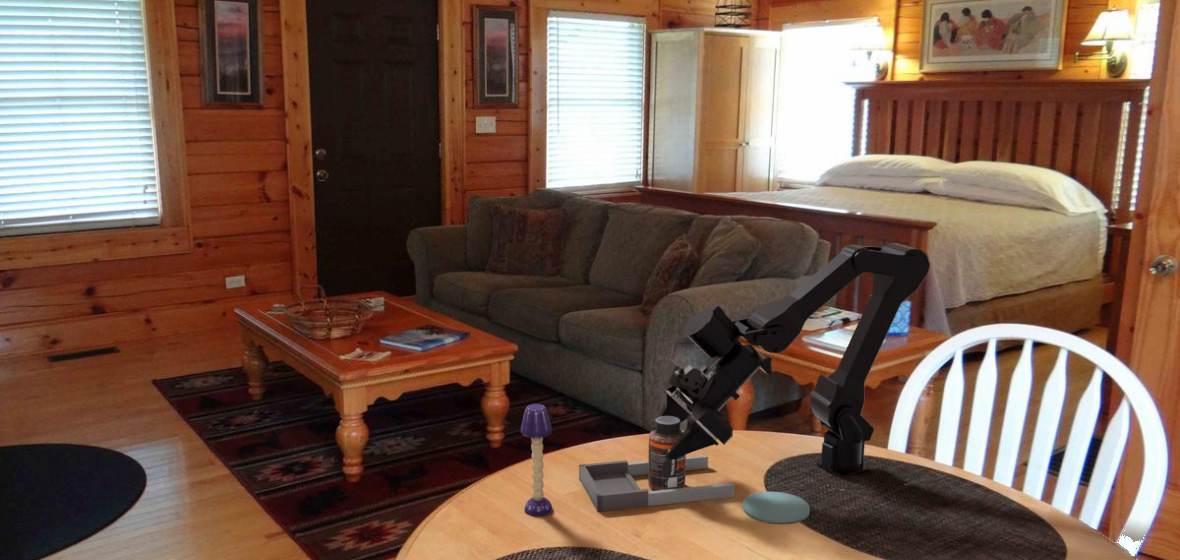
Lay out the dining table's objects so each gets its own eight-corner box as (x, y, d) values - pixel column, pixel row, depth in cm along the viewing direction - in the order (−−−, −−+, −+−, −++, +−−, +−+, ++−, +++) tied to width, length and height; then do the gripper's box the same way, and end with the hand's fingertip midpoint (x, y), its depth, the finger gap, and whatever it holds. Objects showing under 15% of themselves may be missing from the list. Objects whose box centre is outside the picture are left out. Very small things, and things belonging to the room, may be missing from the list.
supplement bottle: (683, 495, 149) (684, 427, 147) (645, 492, 151) (646, 425, 148) (687, 480, 155) (688, 414, 153) (650, 477, 156) (651, 412, 154)
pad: (780, 490, 151) (780, 486, 151) (823, 514, 143) (823, 511, 143) (729, 503, 147) (729, 499, 147) (771, 529, 138) (771, 525, 138)
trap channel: (706, 466, 161) (706, 452, 160) (733, 496, 149) (734, 481, 149) (579, 479, 156) (579, 464, 155) (597, 511, 144) (597, 496, 144)
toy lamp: (555, 516, 143) (554, 410, 139) (524, 519, 142) (522, 412, 138) (549, 502, 147) (548, 399, 144) (519, 505, 146) (517, 402, 143)
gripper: (675, 328, 158) (610, 397, 158) (715, 359, 140) (642, 437, 140) (718, 370, 161) (655, 437, 161) (763, 406, 144) (692, 482, 143)
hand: (659, 447), depth 151 cm, fingers open, 9 cm apart
